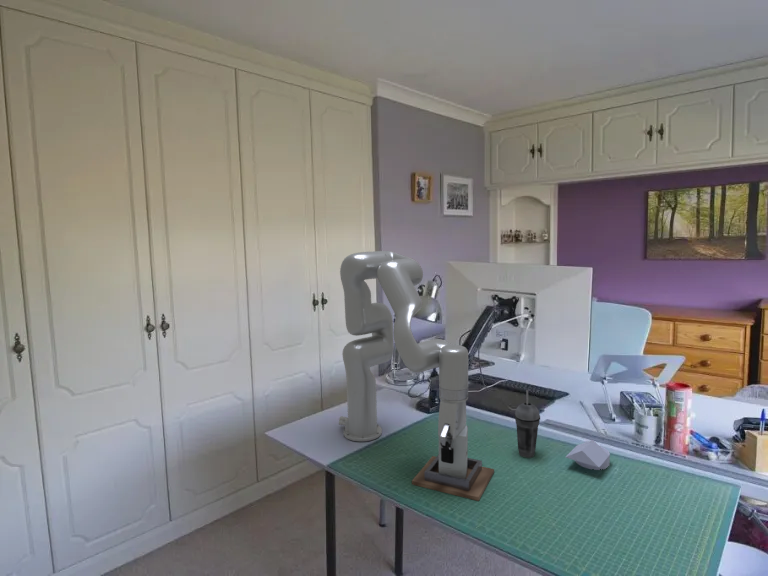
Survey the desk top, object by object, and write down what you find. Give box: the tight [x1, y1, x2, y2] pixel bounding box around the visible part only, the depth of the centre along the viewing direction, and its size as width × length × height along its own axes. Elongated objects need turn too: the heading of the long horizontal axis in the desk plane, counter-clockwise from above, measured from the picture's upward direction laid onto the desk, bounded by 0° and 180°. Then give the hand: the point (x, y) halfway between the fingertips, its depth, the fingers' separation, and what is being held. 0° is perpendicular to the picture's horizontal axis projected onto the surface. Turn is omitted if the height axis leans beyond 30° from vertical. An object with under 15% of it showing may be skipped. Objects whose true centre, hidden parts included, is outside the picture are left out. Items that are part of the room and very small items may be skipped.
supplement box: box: [438, 425, 469, 479], centre depth 128 cm, size 7×7×13 cm
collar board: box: [411, 453, 495, 502], centre depth 128 cm, size 18×15×4 cm
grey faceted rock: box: [565, 439, 611, 471], centre depth 134 cm, size 9×7×13 cm
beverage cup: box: [514, 389, 541, 459], centre depth 140 cm, size 7×7×20 cm
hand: (453, 454), depth 128 cm, fingers open, 9 cm apart
